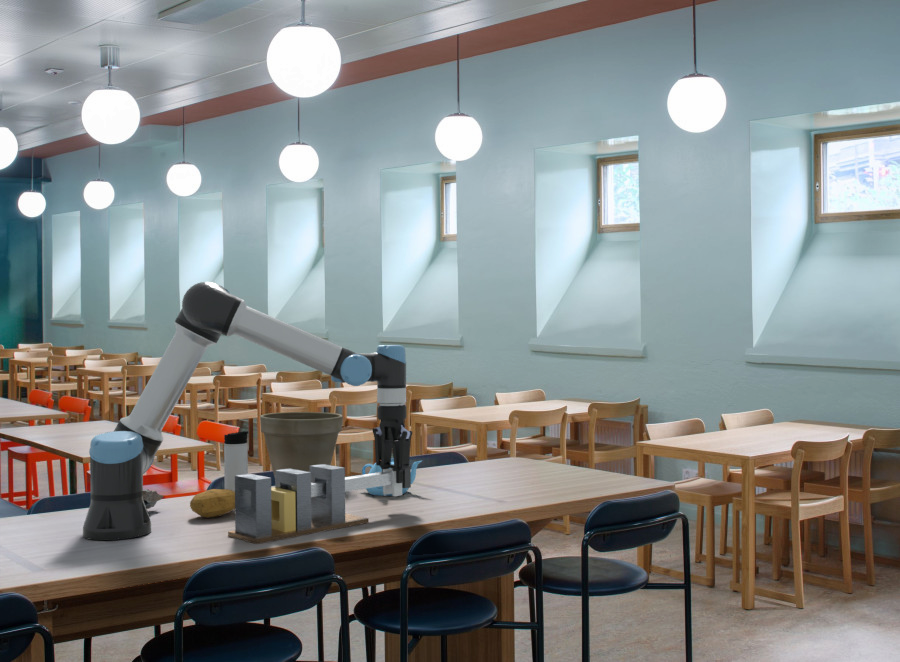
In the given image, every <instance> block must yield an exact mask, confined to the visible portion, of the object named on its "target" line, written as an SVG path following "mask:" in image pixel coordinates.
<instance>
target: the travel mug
mask: <svg viewBox="0 0 900 662" xmlns="http://www.w3.org/2000/svg"><path fill="white" fill-rule="evenodd" d="M248 434H249V430H244V431H238V432H231V433H227V434H224V435H223V436H224V438H223V440H224V441H223V443H224V444H223V445H224V446H223V452H224V453H223V455H224V456H223V458H224V460H223V461H224V462H223V466H224V467H223V468H224V469H223V470H224V473H223V474H224V476H223V477H224V479H223V480H224V489H229V490H232V491H234V492H235V476H236V475H243V474H249V468H248V466H249V465H248V464H249V462H248V461H249V459H248V458H249V457H248V451H249V450H248V447H249V446H248Z"/></svg>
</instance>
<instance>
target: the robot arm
mask: <svg viewBox="0 0 900 662" xmlns="http://www.w3.org/2000/svg"><path fill="white" fill-rule="evenodd" d="M176 316H177V317H176V318H175V320H174V322H173V324H174V326H175V333H174V335H173V337H172V339H171V340H170V342H169V344H168V346H167V347H166V349H165V351H164V353H163V355H162V357H161V358H160V360H159V362H158V364H157V366H156V368H155V369H154V371H153V373H152V374H151V376H150V379H148V382H147V383H146V385H145V387H144V388H143V390H142V392H141V394H140V396H139V397H138V399H137V401H136V403H135V405H134V406H133V409H132V411H130V412H131V413H130V414H129V415H128V416H124V417H121V418H120V420H119V421H118V423H117V424H116V426H115V428H114V429H113V431H108V432H105V433H99V434H97V435H95V436H93V438H92V439H91V440H90V446H89V447H90V448H89V450H88V452H89V461H90V463H89V466H90V468H89V474H90V479H89V480H90V504H89V508H88V511H87V513H86V517H85V519H84V523H83V525H82V537H83V538H84V539H87V540H95V541H114V540H116V541H117V540H118V541H119V540H126V539H127V540H128V539H133V538H137V537H143V536H146V535H148V534H149V533H152V521H151V518H150V514H149V512H148V509H146V506H145V504H144V501H143V489H144V475H145V473H146V472H148V471H149V469H150V468H151V466H152V465H153V463H154V460H155V456H156V454H157V452H158V451H159V448H160V447H161V445H162V443H163V441H164V436H163V433H162V430H163V428H164V427H165V425H166V423H167V421H168V419H169V417H170V415H171V414H172V412H173V410H174V408H175V407H176V405H177V403H178V401H179V399H180V397H181V396H182V394H183V392H184V390H185V388H186V387H187V384H188V383H189V381H190V380H191V378H192V376H193V374H194V372H195V370H196V369H197V367H198V365H199V363H200V361H201V360H202V358H203V356H204V355H205V352H206V350H207V348H209V347H211V346H214V345H217V344H218V341H219V339H220V337H221V336H222V335H223V336H225V337H227V338H228V337H232V336H236V337H239V338H241V339H243V340H246V341H247V342H250V343H252V344H255V345H258V346H260V347H262V348H265V349H267V350H269V351H272V352H273V353H277V354H279V355H280V356H284V357H286V358H289V359H291V360H294V361H295V362H298V363H300V364H302V365H305V366H307V367H310V368H312V369H314V370H317V371H319V372H322V373H324V374H326V375H328V376H330V379H331V381H332V382H333V383H341V384H343V383H344V384H347V385H350V386H352V387H359V386H362V385H364V384H366V383H369V382H371V383H374V382H375V383H377V385H376V386H377V387H376V391H377V392H376V393H377V394H376V399H377V401H376V402H377V404H378V405H377V406H376V407H377V410H376V411H377V420H379V421H380V422H379V424H378V425H379V426H378V427H373V428H372V435H373V437H374V438H373V439H374V450H375V451H374V452H375V463H376V465H377V466H380V467H381V469H382V472H385V471H392V470H393V471H392V484H391V485H385V486H383V494H384V495H386V494H392V497H398V496H403V494H402V483H403V470H404V469H406V468H409V466H410V459H411V455H410V454H411V439H412V435H413V431H412V430H408V429H407V428H406V425H405V420H406V419H407V406H406V404H405V403H406V402H407V360H406V359H407V358H406V348H405V346H404V345H402V344H401V345H400V344H379V345H377V346H376V351H375V352H370V353H369V352H355V351H352V350H350V349H349V348H348V349H347V348H345V347H343V346H341V345H339V344H336V343H334V342H331V341H330V340H327V339H324V338H323V337H320V336H318V335H315V334H312V333H311V332H308V331H306V330H303V329H301V328H299V327H297V326H294V325H292V324H290V323H287V322H285V321H283V320H280V319H278V318H276V317H274V316H271V315H269V314H266V313H264V312H262V311H260V310H258V309H254V308H252V307H251V306H248V305H247V303H246V301H245V299H242V298H239V297H238V296H236V295H234V294H232V293H231V292H230V291H229V290H228V289H227V288H225V287H223V285H220V284H218V283H215V282H210V281H201V282H197V283H195V284H193V285H192V286H190V288H187V290H186V292H185V293H184V294H183V298H182V301H181V310H180V311H179V313H178V315H176ZM392 456H393V457H392ZM391 458H392V460H394V469H393V468H391V467H392V466H391V462H392V460H391Z"/></svg>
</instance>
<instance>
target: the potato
mask: <svg viewBox="0 0 900 662" xmlns="http://www.w3.org/2000/svg"><path fill="white" fill-rule="evenodd" d="M189 507H190V509H191V511H192V512H194V513H195V514H197V515H198V516H199V517H202V518H205V519H211V518H210V517H212V518H218V517H221V516H224V515H226V514H228V513H230V512H231V511H233V510H234V511H235V492H234V491H232V490H229V489H225V488H221V489H220V488H219V489H218V488H212V489H208V490H204V491H202V492H199V493H197V494H195V495H194V496H192V498H191V501H190V502H189Z"/></svg>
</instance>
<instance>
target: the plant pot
mask: <svg viewBox="0 0 900 662" xmlns="http://www.w3.org/2000/svg"><path fill="white" fill-rule="evenodd" d="M259 420H260V423H259V424H260V432H261V433H263V436H264V441H265V445H266V448H267V449H266V450H267V453H268V458H269V460H270V465H271V469H272V473H273V476H274V478H275V470H282V469H295V470H300V471H306V472H310V468H309V466H312V465H320V464H325V465H331V464H332V462H333V461H332V460H333V456H334V452H335V448H336V445H337V442H338V436H339V433H340V432H342V429H343V415H342V414H340V413H336V412H335V413H334V412H321V411H320V412H317V411H314V412H313V411H290V412H288V411H287V412H271V413H265V414H262V415H260V416H259ZM331 466H332V465H331Z"/></svg>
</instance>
